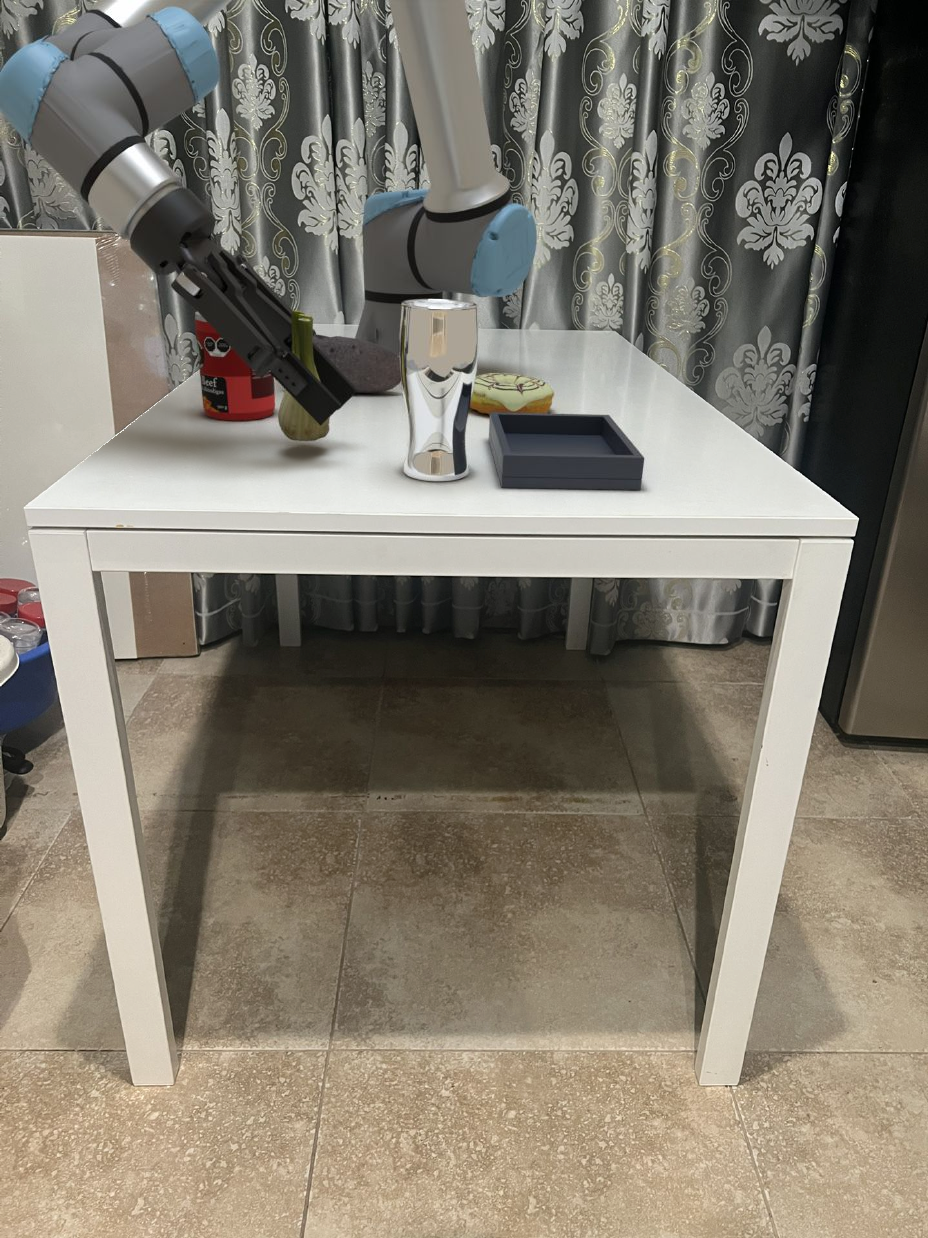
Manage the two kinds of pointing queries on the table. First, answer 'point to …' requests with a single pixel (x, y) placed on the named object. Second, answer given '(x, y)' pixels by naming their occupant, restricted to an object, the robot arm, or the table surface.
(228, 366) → the canned food
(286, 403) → the fennel bulb
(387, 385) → the perforated stone tool
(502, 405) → the decorated donut
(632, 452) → the dark grey tray
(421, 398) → the beer glass
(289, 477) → the table surface
